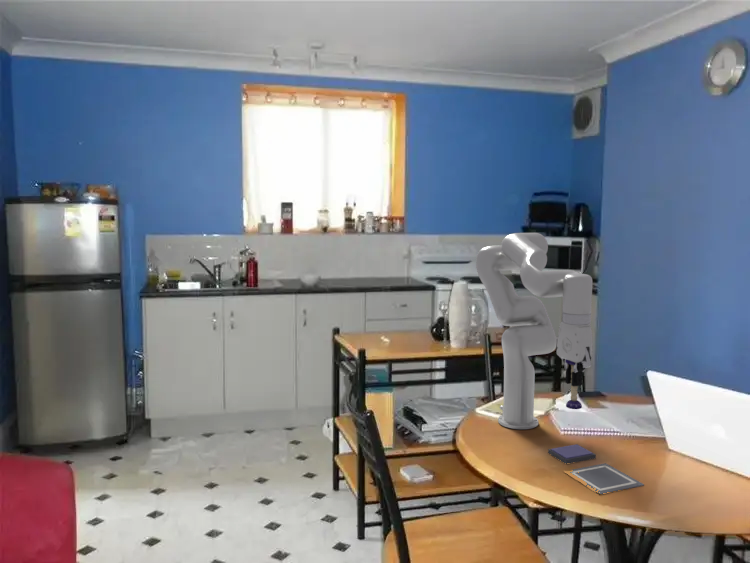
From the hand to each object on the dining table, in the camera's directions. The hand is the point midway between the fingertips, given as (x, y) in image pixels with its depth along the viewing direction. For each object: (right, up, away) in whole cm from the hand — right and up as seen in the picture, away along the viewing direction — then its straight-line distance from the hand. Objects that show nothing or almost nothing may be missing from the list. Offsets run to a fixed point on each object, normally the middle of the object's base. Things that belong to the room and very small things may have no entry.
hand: (573, 383), depth 178 cm
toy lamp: (0, -7, +1) cm, 7 cm away
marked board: (+4, -23, -12) cm, 26 cm away
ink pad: (0, -21, +3) cm, 21 cm away
